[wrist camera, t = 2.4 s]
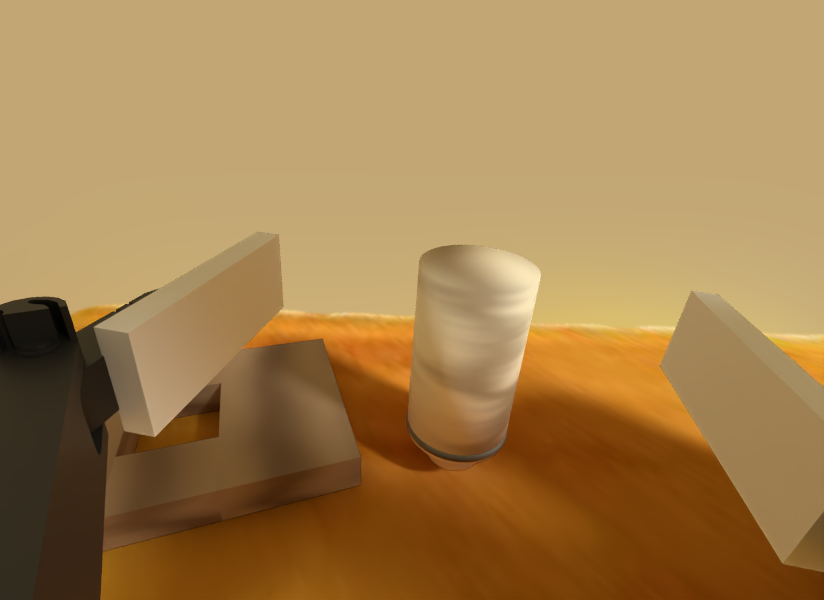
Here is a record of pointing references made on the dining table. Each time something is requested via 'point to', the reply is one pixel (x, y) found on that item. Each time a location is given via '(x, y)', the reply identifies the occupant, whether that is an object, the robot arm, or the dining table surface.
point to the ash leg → (468, 350)
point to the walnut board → (237, 448)
